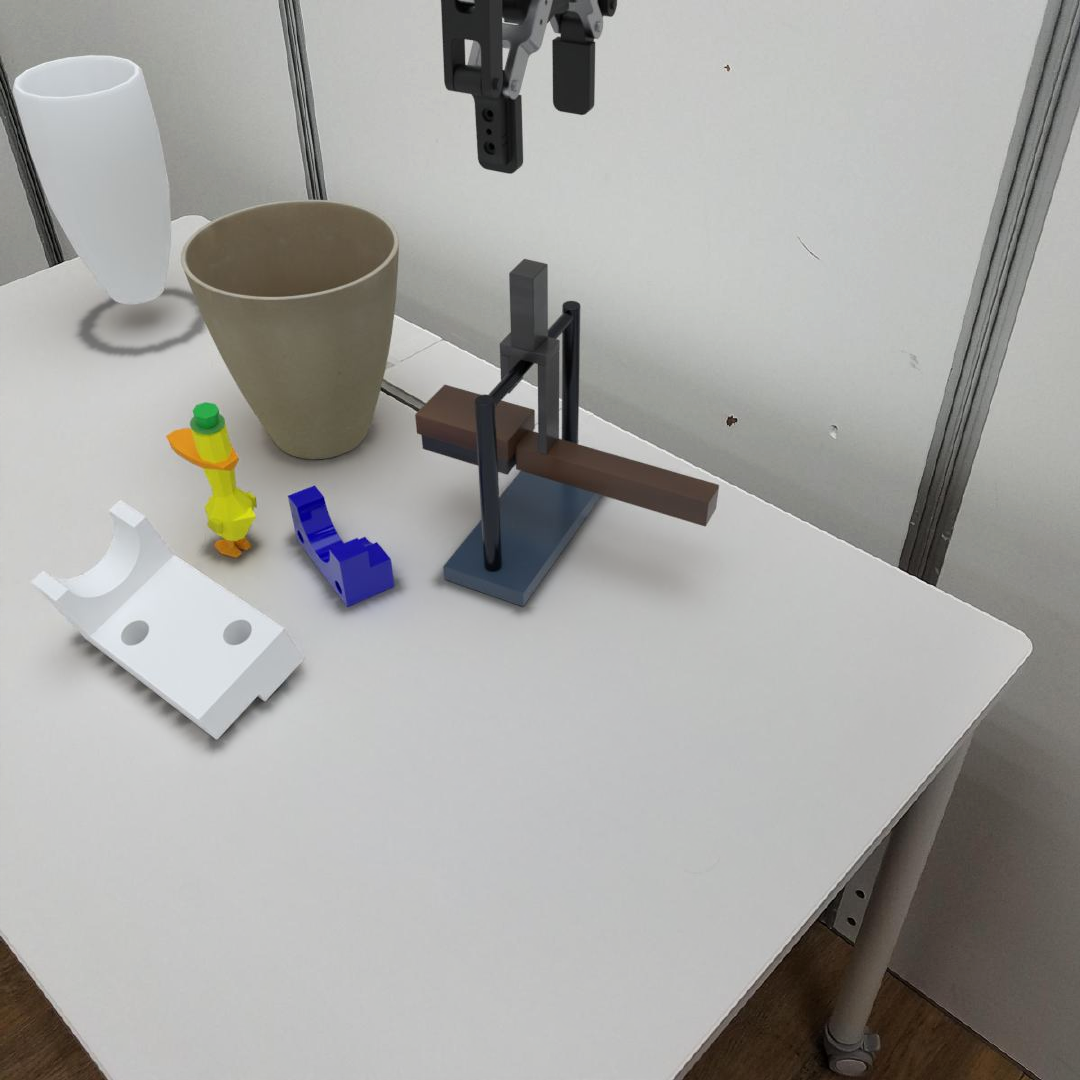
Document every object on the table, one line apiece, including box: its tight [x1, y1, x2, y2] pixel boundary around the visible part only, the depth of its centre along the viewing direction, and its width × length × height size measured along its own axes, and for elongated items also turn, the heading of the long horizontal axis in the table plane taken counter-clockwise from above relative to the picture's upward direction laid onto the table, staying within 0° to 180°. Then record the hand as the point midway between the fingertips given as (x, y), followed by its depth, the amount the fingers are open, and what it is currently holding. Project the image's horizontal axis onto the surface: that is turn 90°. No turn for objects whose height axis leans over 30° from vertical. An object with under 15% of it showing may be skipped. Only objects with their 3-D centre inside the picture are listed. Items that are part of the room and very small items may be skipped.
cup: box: [12, 54, 172, 305], centre depth 93 cm, size 10×10×22 cm
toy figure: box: [165, 401, 258, 559], centre depth 74 cm, size 7×4×12 cm, turn 57°
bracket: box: [30, 499, 306, 741], centre depth 67 cm, size 13×7×8 cm, turn 51°
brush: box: [414, 258, 720, 527], centre depth 70 cm, size 4×20×15 cm, turn 64°
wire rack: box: [442, 300, 603, 607], centre depth 74 cm, size 6×15×15 cm, turn 154°
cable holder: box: [287, 484, 395, 608], centre depth 75 cm, size 8×4×4 cm, turn 33°
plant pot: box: [180, 199, 400, 460], centre depth 82 cm, size 15×15×16 cm
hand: (539, 138), depth 59 cm, fingers open, 8 cm apart
